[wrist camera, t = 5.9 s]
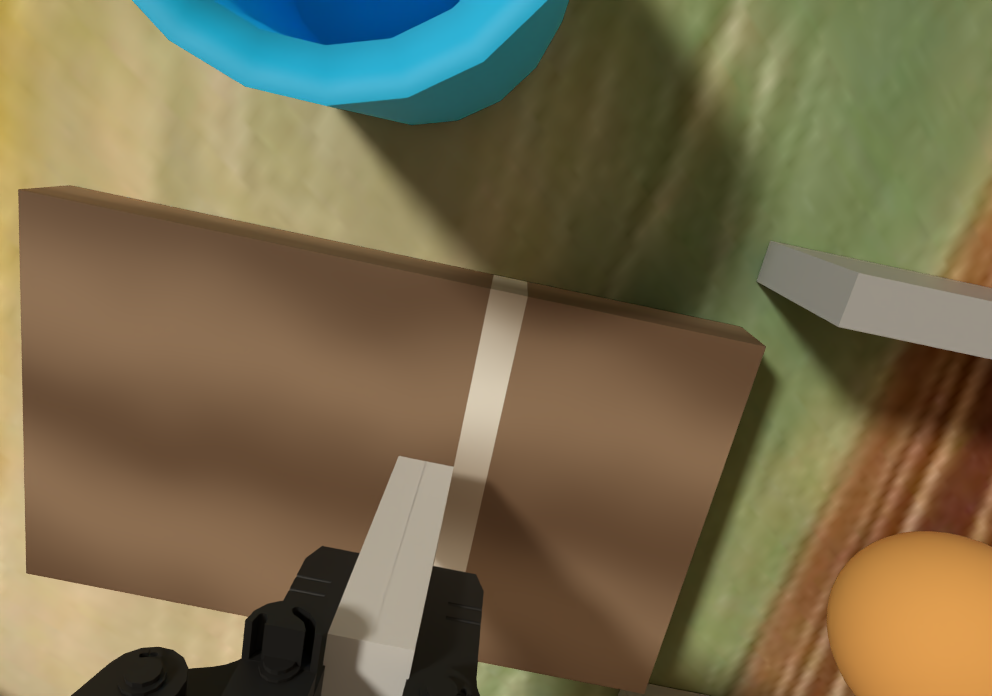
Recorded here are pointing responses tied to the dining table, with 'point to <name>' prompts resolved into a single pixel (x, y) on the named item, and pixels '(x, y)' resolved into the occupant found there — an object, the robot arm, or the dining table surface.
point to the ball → (914, 617)
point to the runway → (361, 424)
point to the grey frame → (875, 312)
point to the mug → (369, 49)
